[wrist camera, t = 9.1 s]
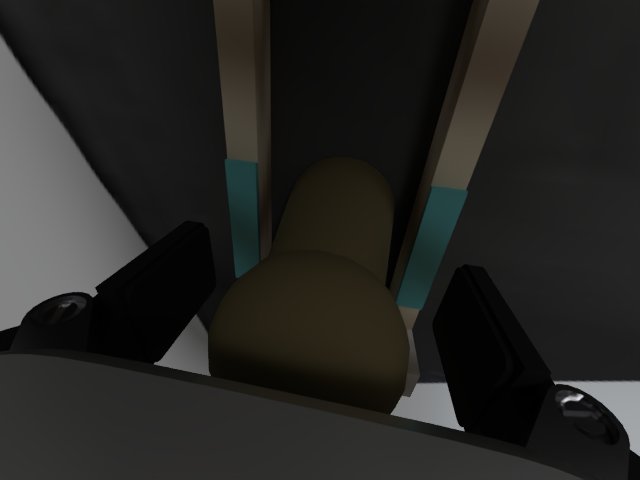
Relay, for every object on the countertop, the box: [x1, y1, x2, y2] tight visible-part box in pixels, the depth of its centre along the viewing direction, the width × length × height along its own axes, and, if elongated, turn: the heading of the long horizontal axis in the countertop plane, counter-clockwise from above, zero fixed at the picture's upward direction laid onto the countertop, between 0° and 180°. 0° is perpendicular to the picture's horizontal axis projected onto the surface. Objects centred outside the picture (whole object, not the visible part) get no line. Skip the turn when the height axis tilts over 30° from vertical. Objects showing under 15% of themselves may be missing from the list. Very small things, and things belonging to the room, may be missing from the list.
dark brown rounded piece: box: [208, 156, 410, 415], centre depth 10 cm, size 6×6×11 cm
